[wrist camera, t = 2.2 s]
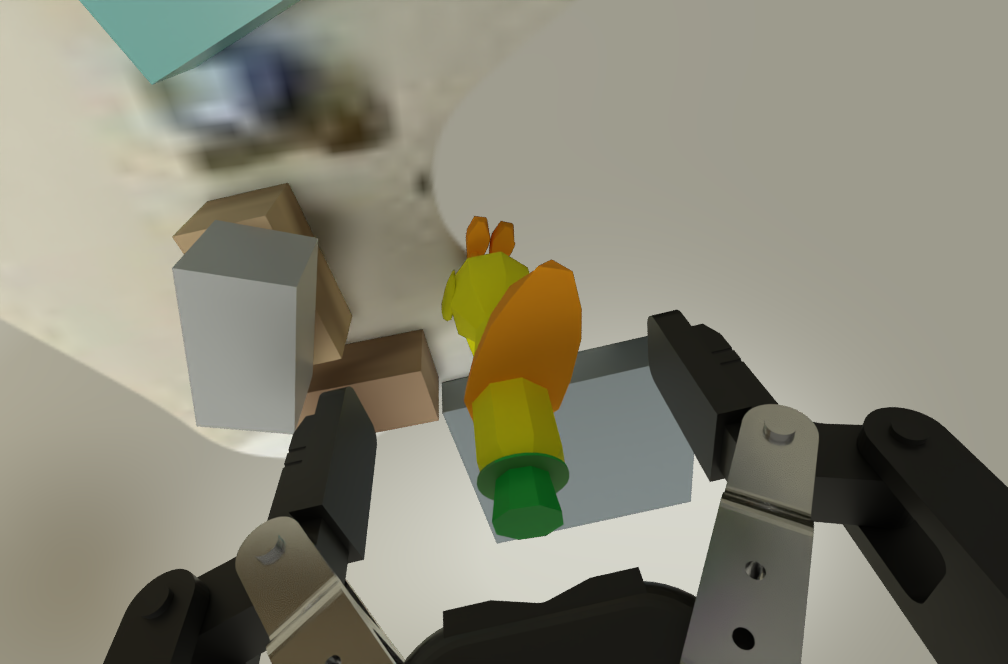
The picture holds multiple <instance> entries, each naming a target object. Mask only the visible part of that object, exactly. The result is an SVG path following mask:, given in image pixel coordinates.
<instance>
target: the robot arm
mask: <svg viewBox="0 0 1008 664" xmlns="http://www.w3.org/2000/svg"><path fill="white" fill-rule="evenodd" d="M647 326H648V363H649V368H650V372H651V375H652V378H653V380H654V382H655V384H656V386H657V388H658V390H659V391H660V393H661V395H662V397H663V399H664V400H665V402H666V404H667V406H668V408H669V409H670V411H671V413H672V415H673V416H674V418H675V420H676V422H677V424H678V425H679V427H680V429H681V431H682V433H683V434H684V436H685V438H686V440H687V442H688V443H689V445H690V447H691V449H692V451H693V452H694V454H695V456H696V458H697V459H698V461H699V463H700V465H701V467H702V468H703V470H704V472H705V474H706V475H707V477H708V479H709V481H710V482H711V481H716V480H720V479H724V478H725V479H726V481H727V485H726V488H725V492H723V494H722V497H721V501H720V505H719V509H718V513H717V517H716V521H715V525H714V529H713V533H712V537H711V541H710V545H709V549H708V553H707V557H706V561H705V565H704V568H703V573H702V577H701V581H700V585H699V588H698V592H697V596H696V597H695V596H694V595H692V594H690V593H688V592H685V591H683V590H681V589H679V588H676V587H672V586H669V585H666V584H661V583H656V582H646V581H643V579H642V576H641V573H640V570H639V568H638V567H636V568H632V569H628V570H623V571H619V572H615V573H610V574H605V575H601V576H596V577H593V578H589V579H587V580H585V581H583V582H582V583H580V584H578V585H576V586H574V587H572V588H571V589H569V590H567V591H565V592H563V593H561V594H559V595H558V596H556V597H554V598H552V599H550V600H548V601H546V602H543V603H527V602H510V601H492V600H490V601H486V602H482V603H477V604H473V605H468V606H464V607H460V608H455V609H451V610H446V611H443V628H441V629H439V630H438V631H436V632H435V633H433V634H432V635H430V636H429V637H428V638H426V639H425V640H424V641H423V642H422V643H421V644H420V645H418V646H417V647H416V648H415V650H414V651H413V652H412V653H411V654H410V655H409V656H408V657H407V659H406V660H405V659H404V658H403V656H402V655H401V654H400V652H399V651H398V650H397V649H396V647H395V646H394V645H393V644H392V642H391V641H390V640H389V638H388V637H387V636H386V634H385V633H384V632H383V630H382V629H381V627H380V626H379V624H378V623H377V622H376V620H375V619H374V617H373V616H372V615H371V613H370V612H369V610H368V609H367V608H366V606H365V605H364V603H363V602H362V601H361V599H360V598H359V596H358V595H357V594H356V592H355V591H354V589H353V588H352V587H351V585H350V584H349V582H348V581H347V580H346V579H345V578H346V571H347V564H348V563H351V562H355V561H360V560H364V554H365V545H366V536H367V527H368V519H369V510H370V501H371V492H372V483H373V475H374V465H375V457H376V448H377V439H376V433H375V429H374V426H373V424H372V422H371V420H370V418H369V416H368V414H367V412H366V411H365V409H364V407H363V405H362V403H361V402H360V400H359V398H358V396H357V394H356V392H355V391H354V389H353V388H352V387H350V386H348V387H344V388H340V389H335V390H331V391H327V392H323V393H321V394H320V396H319V399H318V403H317V407H316V410H315V414H313V415H309V416H306V417H305V418H304V419H303V421H302V422H301V423H300V425H299V426H298V428H297V429H296V430H295V432H294V433H293V437H292V440H291V443H290V447H289V453H287V457H286V460H285V463H284V465H285V467H284V468H283V470H282V473H281V477H280V480H279V483H278V487H277V490H276V493H275V497H274V500H273V503H272V507H271V510H270V513H269V517H268V520H267V521H266V522H265V523H263V524H261V525H260V526H258V527H257V528H256V529H255V530H253V531H252V532H251V534H249V535H248V537H247V538H246V539H245V540H244V542H243V543H242V545H241V547H240V548H239V550H238V553H237V556H236V557H235V558H233V559H231V560H229V561H228V562H226V563H224V564H222V565H220V566H218V567H216V568H214V569H212V570H210V571H209V572H207V573H205V574H203V575H201V576H199V577H196V576H194V575H193V574H192V573H191V572H189V571H187V570H184V569H176V570H171V571H169V572H166V573H164V574H162V575H160V576H158V577H157V578H155V579H153V580H152V581H151V582H150V583H148V584H147V585H146V586H145V587H144V588H143V589H142V590H141V591H140V592H139V593H138V594H137V595H136V596H135V598H134V599H133V600H132V602H131V603H130V605H129V606H128V608H127V610H126V612H125V614H124V617H123V619H122V621H121V623H120V626H119V628H118V630H117V633H116V635H115V637H114V640H113V642H112V644H111V647H110V649H109V651H108V653H107V656H106V658H105V661H104V663H103V664H259V661H260V656H261V653H263V652H265V651H267V654H268V656H269V658H270V661H271V662H272V664H801V656H802V646H803V636H804V626H805V616H806V605H807V595H808V586H809V575H810V565H811V555H812V544H813V534H814V522H825V523H836V524H843V525H844V527H845V528H846V530H847V531H848V533H849V534H850V536H851V537H852V539H853V540H854V541H855V543H856V544H857V546H858V547H859V549H860V550H861V552H862V553H863V555H864V556H865V558H866V559H867V561H868V562H869V564H870V565H871V566H872V568H873V569H874V571H875V572H876V574H877V575H878V577H879V578H880V580H881V581H882V582H883V584H884V586H885V587H886V589H887V590H888V591H889V593H890V594H891V596H892V597H893V599H894V600H895V601H896V603H897V605H898V606H899V607H900V609H901V611H902V612H903V613H904V615H905V616H906V618H907V619H908V621H909V622H910V624H911V625H912V627H913V628H914V630H915V631H916V633H917V634H918V635H919V637H920V638H921V640H922V641H923V643H924V644H925V646H926V647H927V649H928V650H929V652H930V653H931V654H932V656H933V657H934V659H935V660H936V662H937V663H938V664H1008V487H1007V486H1006V485H1004V483H1003V482H1002V481H1000V480H999V479H998V478H997V477H996V476H995V475H994V474H993V473H992V472H991V471H990V470H989V469H988V468H987V467H986V466H985V465H984V464H983V463H982V462H980V460H978V459H977V458H976V457H975V456H974V455H973V454H972V453H971V452H970V451H969V450H968V449H967V448H966V447H965V446H964V445H963V444H962V443H961V442H960V441H959V440H957V439H956V438H955V437H954V436H953V435H952V434H951V433H950V432H949V431H948V430H947V429H946V428H945V427H944V426H942V425H941V424H940V423H939V422H937V421H936V420H934V419H933V418H931V417H929V416H927V415H924V414H922V413H920V412H917V411H913V410H910V409H905V408H898V407H888V408H881V409H877V410H875V411H872V412H871V413H870V414H868V415H867V417H866V418H865V421H864V423H863V425H845V424H823V423H815V422H812V421H811V420H810V419H809V418H808V417H807V416H806V415H804V414H803V413H801V412H799V411H798V410H796V409H793V408H790V407H787V406H783V405H778V403H777V402H776V401H775V400H774V398H773V397H772V396H771V395H770V394H769V392H768V391H767V390H766V389H765V387H764V386H763V385H762V384H761V383H760V382H759V380H758V379H757V378H756V376H755V375H754V374H753V373H752V372H751V370H750V369H749V368H748V367H747V366H746V364H745V363H744V362H742V361H741V358H740V357H739V356H738V355H737V354H736V352H735V351H734V350H732V347H731V346H730V345H729V344H728V342H727V341H726V340H725V339H724V337H723V336H722V335H721V334H720V333H718V332H716V331H715V330H713V329H711V328H709V327H707V326H706V325H704V324H699V325H696V326H691V325H690V324H689V322H688V321H687V320H686V318H685V317H684V316H683V314H682V313H681V312H680V311H679V310H673V311H669V312H665V313H661V314H656V315H652V316H649V317H648V322H647Z"/></svg>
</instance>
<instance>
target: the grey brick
mask: <svg viewBox="0 0 1008 664" xmlns="http://www.w3.org/2000/svg"><path fill="white" fill-rule="evenodd" d="M317 257H318V238H315V237H309V236H304V235H298V234H292V233H287V232H281V231H275V230H270V229H264V228H259V227H253V226H247V225H242V224H236V223H231V222H225V221H219V220H215V221H214V222H213V223H212V224H211V225H210V226H209V227H208V228H207V230H206V231H205V232H204V233H203V234H202V235H201V236H200V237H199V239H198V240H197V241H196V242H195V243H194V244H193V245H192V246H191V248H190V249H189V250H188V251H187V252H186V253H185V254H184V255H183V257H182V258H181V259H180V260H179V261H178V262H177V263H176V264H175V266H174V267H173V268H172V270H173V276H174V283H175V289H176V296H177V302H178V309H179V315H180V321H181V328H182V334H183V341H184V347H185V354H186V360H187V367H188V373H189V380H190V386H191V393H192V399H193V405H194V412H195V418H196V425H197V426H200V427H212V428H224V429H235V430H247V431H259V432H271V433H283V434H293V433H294V432H295V430H296V428H297V424H298V421H299V418H300V415H301V411H302V408H303V405H304V402H305V398H306V395H307V392H308V389H309V385H310V382H311V379H312V376H313V353H314V329H315V305H316V281H317Z"/></svg>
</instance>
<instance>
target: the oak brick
mask: <svg viewBox="0 0 1008 664" xmlns="http://www.w3.org/2000/svg"><path fill="white" fill-rule="evenodd" d="M215 220H219V221H225V222H231V223H236V224H242V225H247V226H253V227H259V228H264V229H270V230H275V231H281V232H287V233H292V234H298V235H304V236H309V237H314V235H313V233H312V231H311V229H310V227H309V225H308V223H307V221H306V219H305V217H304V214H303V212H302V210H301V208H300V206H299V204H298V202H297V200H296V198H295V196H294V194H293V192H292V189H291V187H290V185H289V183H285V184H281V185H276V186H272V187H268V188H263V189H259V190H255V191H250V192H246V193H242V194H237V195H233V196H229V197H224V198H220V199H216V200H212V201H207V202H206V203H205V204H204V205H203V206H202V207H201V208H200V209H199V210H198V211H197V212H196V213H195V214H194V215H193V216H192V217H191V218H190V219H189V220H188V221H187V222H186V223H185V224H184V225H183V226H182V227H181V228H180V229H179V230H178V231H177V232H176V234H175V235H174V236H173V239H174V240H175V242H176V243H177V245H178V246H179V248H180V249H181V250H182V252H183V253H184V254H185V253H186V252H187V251H188V250H189V249H190V248H191V246H192V245H193V244H194V243H195V242H196V241H197V240H198V239H199V237H200V236H201V235H202V234H203V233H204V232H205V231H206V230H207V228H208V227H209V226H210V225H211V224H212V223H213V222H214V221H215ZM351 319H352V315H351V313H350V310H349V308H348V306H347V304H346V302H345V300H344V298H343V296H342V294H341V292H340V290H339V288H338V285H337V283H336V281H335V279H334V277H333V275H332V273H331V271H330V269H329V267H328V265H327V262H326V260H325V258H324V256H323V254H322V252H321V250H320V248H319V246H318V257H317V281H316V305H315V329H314V353H313V365H316V364H320V363H325V362H329V361H334V360H338V359H342V355H343V351H344V347H345V343H346V339H347V335H348V331H349V327H350V323H351Z"/></svg>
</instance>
